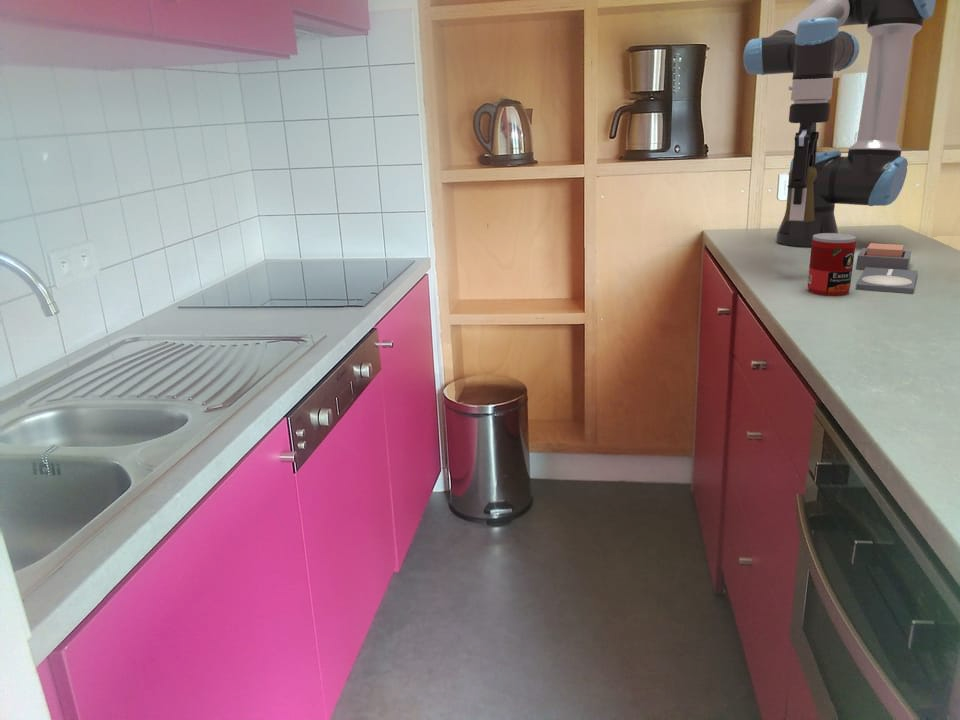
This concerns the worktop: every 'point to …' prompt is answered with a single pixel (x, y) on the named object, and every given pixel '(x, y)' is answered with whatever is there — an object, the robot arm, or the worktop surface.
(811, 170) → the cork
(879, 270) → the slate board
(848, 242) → the canned food
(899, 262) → the button housing
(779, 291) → the worktop surface
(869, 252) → the button
